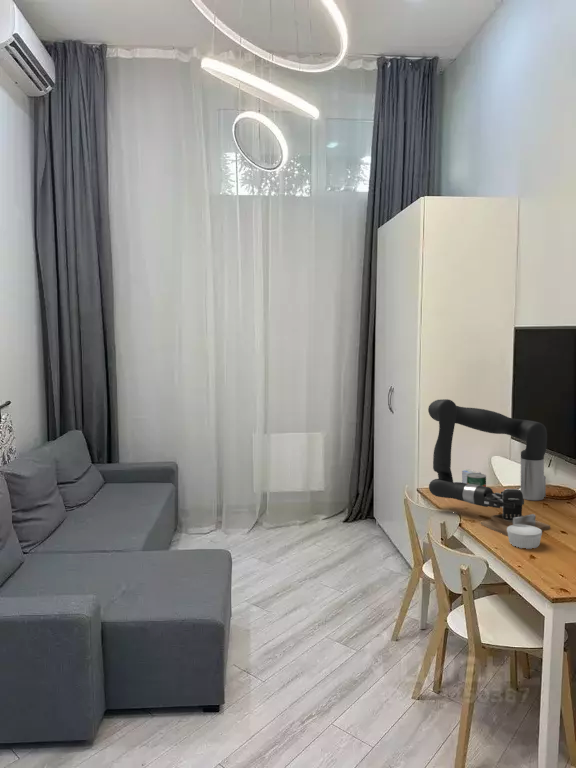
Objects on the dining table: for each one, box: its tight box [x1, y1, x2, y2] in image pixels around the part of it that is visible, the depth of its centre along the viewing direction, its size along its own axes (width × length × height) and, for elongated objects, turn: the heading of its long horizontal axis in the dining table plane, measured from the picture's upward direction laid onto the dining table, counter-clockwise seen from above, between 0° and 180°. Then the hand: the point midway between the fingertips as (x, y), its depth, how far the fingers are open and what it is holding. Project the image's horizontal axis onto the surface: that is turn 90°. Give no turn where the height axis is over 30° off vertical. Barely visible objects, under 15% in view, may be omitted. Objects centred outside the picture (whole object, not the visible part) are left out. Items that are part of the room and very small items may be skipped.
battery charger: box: [502, 488, 524, 520], centre depth 217 cm, size 7×4×11 cm, turn 77°
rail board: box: [480, 513, 551, 537], centre depth 217 cm, size 19×15×5 cm
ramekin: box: [507, 525, 543, 550], centre depth 199 cm, size 11×11×5 cm
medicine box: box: [461, 469, 482, 484], centre depth 267 cm, size 8×4×9 cm, turn 27°
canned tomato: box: [467, 473, 487, 487], centre depth 251 cm, size 8×8×11 cm
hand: (518, 503), depth 215 cm, fingers closed on battery charger, 6 cm apart
